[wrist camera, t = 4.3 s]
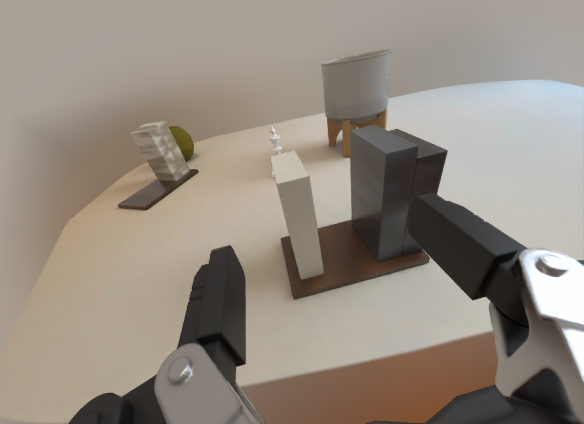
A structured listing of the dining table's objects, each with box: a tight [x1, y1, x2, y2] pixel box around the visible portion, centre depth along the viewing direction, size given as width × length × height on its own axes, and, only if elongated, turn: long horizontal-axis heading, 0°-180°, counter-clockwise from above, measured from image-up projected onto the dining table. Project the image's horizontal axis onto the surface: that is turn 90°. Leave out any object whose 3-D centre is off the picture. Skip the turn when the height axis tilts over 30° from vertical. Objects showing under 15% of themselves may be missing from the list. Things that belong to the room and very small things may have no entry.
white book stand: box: [118, 121, 198, 210], centre depth 49 cm, size 17×9×13 cm, turn 160°
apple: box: [169, 126, 194, 161], centre depth 65 cm, size 10×10×11 cm
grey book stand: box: [281, 125, 447, 299], centre depth 23 cm, size 15×9×13 cm, turn 100°
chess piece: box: [269, 126, 282, 178], centre depth 45 cm, size 5×5×10 cm
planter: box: [321, 50, 391, 157], centre depth 47 cm, size 13×13×18 cm
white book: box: [270, 151, 324, 280], centre depth 23 cm, size 3×6×12 cm, turn 10°
